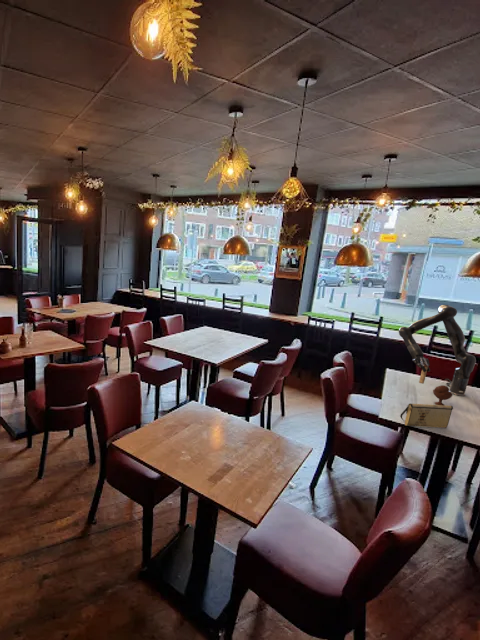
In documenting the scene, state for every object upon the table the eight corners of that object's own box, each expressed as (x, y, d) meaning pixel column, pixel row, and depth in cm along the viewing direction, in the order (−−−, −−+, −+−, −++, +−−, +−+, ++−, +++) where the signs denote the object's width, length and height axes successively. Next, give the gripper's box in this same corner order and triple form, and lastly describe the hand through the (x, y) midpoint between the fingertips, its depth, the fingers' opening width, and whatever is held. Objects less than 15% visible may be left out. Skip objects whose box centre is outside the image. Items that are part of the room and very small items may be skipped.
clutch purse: (440, 423, 217) (446, 401, 214) (449, 429, 210) (456, 406, 207) (395, 421, 215) (400, 399, 212) (403, 426, 209) (409, 404, 205)
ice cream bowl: (453, 408, 241) (458, 388, 238) (437, 407, 241) (442, 387, 238) (441, 401, 251) (446, 382, 248) (426, 400, 252) (431, 381, 248)
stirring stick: (419, 381, 259) (424, 364, 256) (424, 383, 256) (428, 365, 253) (418, 382, 257) (422, 365, 254) (423, 383, 255) (427, 366, 252)
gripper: (412, 348, 256) (424, 369, 248) (426, 348, 260) (438, 369, 251) (404, 353, 263) (415, 373, 254) (417, 352, 266) (429, 373, 258)
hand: (427, 371), depth 253 cm, fingers closed on stirring stick, 3 cm apart
